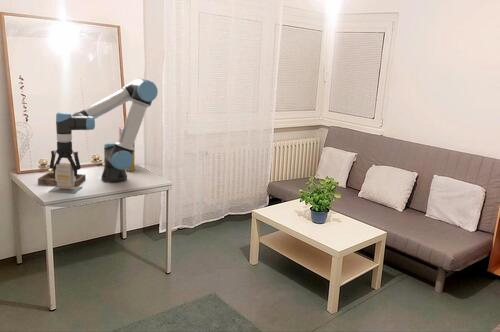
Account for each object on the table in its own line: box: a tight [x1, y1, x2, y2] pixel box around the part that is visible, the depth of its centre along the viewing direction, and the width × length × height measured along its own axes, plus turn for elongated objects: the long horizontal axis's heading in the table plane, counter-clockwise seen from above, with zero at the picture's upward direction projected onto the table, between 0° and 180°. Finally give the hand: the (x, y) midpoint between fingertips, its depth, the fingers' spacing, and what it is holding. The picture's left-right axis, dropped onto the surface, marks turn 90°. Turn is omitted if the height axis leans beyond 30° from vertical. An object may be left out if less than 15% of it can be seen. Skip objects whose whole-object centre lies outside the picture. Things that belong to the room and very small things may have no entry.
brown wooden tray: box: [37, 172, 87, 187], centre depth 250 cm, size 22×14×4 cm, turn 93°
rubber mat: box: [48, 185, 83, 195], centre depth 237 cm, size 14×12×1 cm
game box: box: [118, 126, 136, 172], centre depth 290 cm, size 21×6×27 cm, turn 30°
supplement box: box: [56, 162, 75, 188], centre depth 235 cm, size 8×5×13 cm, turn 84°
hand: (65, 181), depth 236 cm, fingers closed on supplement box, 8 cm apart
